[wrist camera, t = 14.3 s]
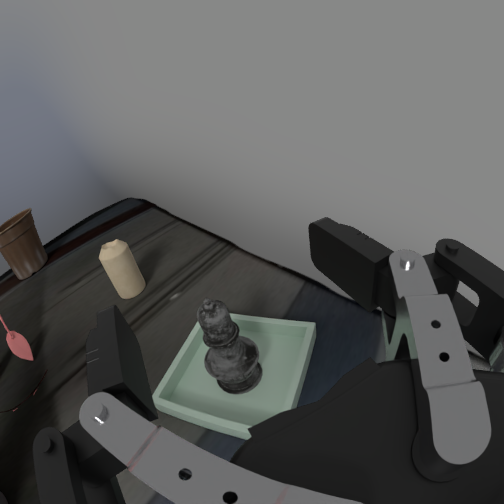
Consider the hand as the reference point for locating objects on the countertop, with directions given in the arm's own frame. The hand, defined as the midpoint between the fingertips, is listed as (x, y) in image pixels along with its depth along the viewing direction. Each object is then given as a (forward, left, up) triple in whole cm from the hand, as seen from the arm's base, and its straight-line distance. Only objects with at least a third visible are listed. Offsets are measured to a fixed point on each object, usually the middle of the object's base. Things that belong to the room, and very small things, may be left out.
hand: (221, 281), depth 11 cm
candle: (-34, +19, -22) cm, 44 cm away
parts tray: (-8, +8, -21) cm, 24 cm away
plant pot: (-82, +20, -22) cm, 87 cm away
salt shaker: (-7, +8, -21) cm, 24 cm away
